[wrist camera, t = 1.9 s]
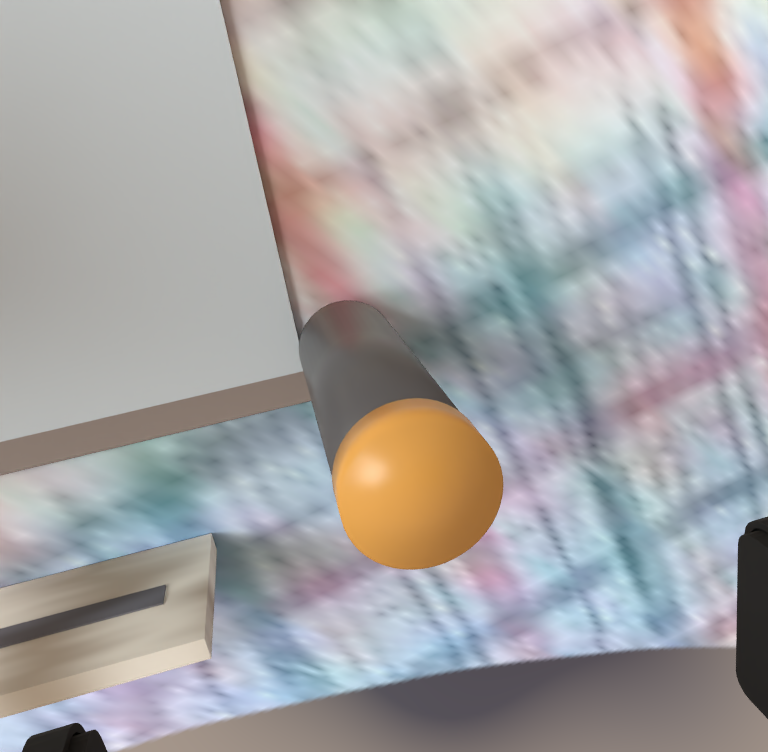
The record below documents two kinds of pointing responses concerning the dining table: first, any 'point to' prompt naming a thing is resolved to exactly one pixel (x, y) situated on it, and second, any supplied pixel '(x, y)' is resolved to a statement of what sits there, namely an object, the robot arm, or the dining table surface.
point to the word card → (106, 624)
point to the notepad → (131, 232)
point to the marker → (395, 443)
